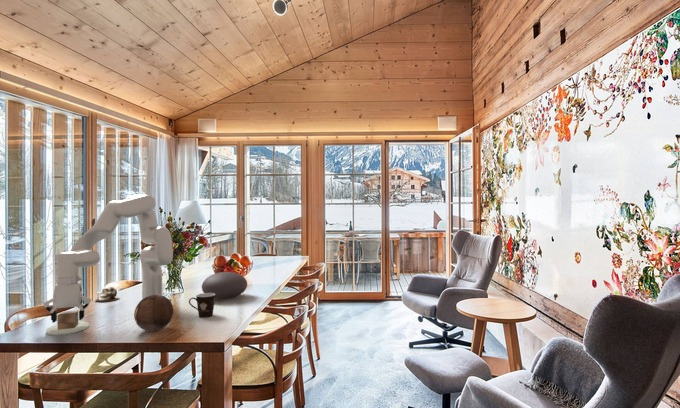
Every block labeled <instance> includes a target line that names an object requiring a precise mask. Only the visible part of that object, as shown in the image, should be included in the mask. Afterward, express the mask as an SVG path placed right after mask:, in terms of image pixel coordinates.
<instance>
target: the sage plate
mask: <svg viewBox="0 0 680 408" xmlns="http://www.w3.org/2000/svg"><path fill="white" fill-rule="evenodd" d="M89 327H90V323H89V322H87V321H82V320H78V325H77V326H76V327H75V328H68V329H58V324H55V325H51V326H50V327H47V328H46V330H45V332H46V333H45V334H46V335H48V336H65V335H64V334H66V335H71V333H72V334H76V333H80V332H83V331H85V330H88V329H89ZM82 330H83V331H82ZM79 331H80V332H79Z"/></svg>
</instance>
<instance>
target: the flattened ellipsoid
mask: <svg viewBox="0 0 680 408" xmlns="http://www.w3.org/2000/svg"><path fill="white" fill-rule="evenodd" d="M247 287H248V281H247V279H246V278H245V277H244V276H243V275H241V274H240V273H237V272H232V271H222V272H221V271H220V272H215V273H213V274H211V275H208V276H207V277H206V278H205V279H204V280H203V281H202V284H201V290H202V293H214V294H215V300H229V299H233V298H237V297H238V296H241V295H242V294H243V293H244V292H245V291H247Z"/></svg>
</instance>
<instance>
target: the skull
mask: <svg viewBox="0 0 680 408" xmlns="http://www.w3.org/2000/svg"><path fill="white" fill-rule="evenodd" d="M117 293H118V290H117V288H115V287H114V286H112V285H111V286H110V285H107V286H104V287H103V288H102V290H101V292H100V296H99V298H96V299H95V300H94V301H96V302H110V301H117V300H120V299H121V298H120V297H116V296H117V295H118V294H117Z"/></svg>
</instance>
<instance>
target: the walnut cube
mask: <svg viewBox="0 0 680 408" xmlns="http://www.w3.org/2000/svg"><path fill="white" fill-rule="evenodd" d="M56 322H57V325H58V329H68V328H75V327H76V326H77V325H78V322H79V310H68V311H66V310H65V311H61V312H60V313H59V314H57V321H56Z"/></svg>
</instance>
